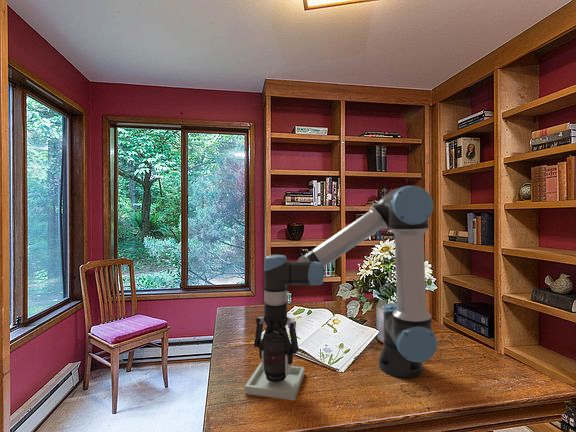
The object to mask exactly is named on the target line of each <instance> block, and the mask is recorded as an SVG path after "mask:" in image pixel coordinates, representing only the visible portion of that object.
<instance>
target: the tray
mask: <svg viewBox="0 0 576 432" xmlns="http://www.w3.org/2000/svg"><path fill="white" fill-rule="evenodd" d="M304 377H305V367H304V366H294V365H291V372H290V373H289V374H288V375H286V378H285V379H284V380H283V381H281V382H270V381H268V380H267V379H266V375H265V370H262V362H260V363H259V364H258V366H257V367H256V368H255V370H254V372H253V373H252V375H251V376H250V378H249V379H248V381H247V382H246V384H245V385H244V394H245V395H251V396H258V397H268V398H272V399H273V398H274V399H280V400H289V401H295V400H296V397H297V395H298V393H299V390H300V388H301V384H302V381H303V378H304Z"/></svg>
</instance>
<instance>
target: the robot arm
mask: <svg viewBox="0 0 576 432" xmlns="http://www.w3.org/2000/svg"><path fill="white" fill-rule="evenodd" d="M369 208H370V209H369V211H367V212H366V213H365V214H363V215H362V216H360V217H358V218H357V219H355V220H354V221H353V222H351V223H350V224H348V225H347V226H345V227H344V228H342V229H341V230H339V231H338V232H336V233H335V234H333V235H332V236H330V237H329V238H328V239H326V240H325V241H323V242H322V243H320V244H318V245H317V246H316V247H314V248H313V249H311V250H310V251H308V252H307V253H306V254H302V255H301V256H299V258H298V259H297V260H296V261H290V260H288V259H287V258H288V257H287V256H286V255H283V254H270V255H267V256H266V257H264V263H263V265H264V266H263V267H264V268H263V283H264V285H263V288H264V289H263V292H264V293H263V294H264V295H263V296H264V297H263V301H264V306H263V307H264V308H263V309H264V311H263V312H264V313H263V314H264V316H262V315H261V316H258V317H257V318H256V319H255V321H256V322H255V323H256V328H255V334H254V335H255V336H254V340H253V341H254V343H253V346H254V347H255V348H257V349H259V359H261V363H262V370H264V358H263V354H264V334H265V332H266V333H269V332H270V331H276V332H279V335H281V336H284V335H286V334H287V333H288V332H289V333H288V335H287V337H288V338H287V339H286V338H285V349H286V351H287V354H286V355H285V375H288V374H289V373H290V372H291V366H292V364H293V362H294V355H296V354H297V353H298V352H299V351H300V350H299V343H298V338H297V337H298V336H297V331H296V328H297V327H296V326H297V321H295V320H293V321H291V320H289V319H288V285H289V286H312V287H313V286H321V285H323V284H324V268H325V267H326V266H328V265H329V264H331V263H333V262H334V261H335V260H338V258H339V257H341V256H342V255H344V254H345V253H347V252H348V251H350V250H352V249H353V248H355V247H356V246H358V245H359V244H361V243H362V242H364V241H365V240H367V239H368V238H370V237H371V236H373V235H374V234H375V233H377V232H379V231H380V230H382V229H385V230H386V229H388V228H389V230H390V231H391V232H392V233H393V234H394V251H395V252H394V253H395V255H394V256H395V277H396V278H395V279H396V280H395V282H396V302H392V303H391V302H389V303H387V304H385V305H384V307H383V345H382V349H381V351H380V355H379V356H378V357H379V358H378V366H379V368H380V370H381V371H383V372H385V373H386V374H388V375H390V376H394V377H397V378H403V379H410V378H411V379H414V378H418V377H420V376H422V375H423V373H424V364H423V362H426V361H428V360H430V358H431V357H434V355H435V354H436V353H437V352H436V351H437V350H438V339H437V337H436V334H435V333H434V332H433V325H432V324H433V323H432V322H433V320H432V314H431V313H430V312H429V311H428V310H427V303H426V302H427V300H426V269H425V267H426V265H425V264H426V263H425V239H424V238H425V237H424V235H425V233H426V232H428V230H429V218H430V217H431V215H432V213H433V210H434V202H433V198H432V197H431V195H430V193H429V192H427V190H426V189H424V188H423V187H420V186H416V185H406V186H405V185H404V186H401V187H397V188H394V189H392V190H390V191H389V192H387V193H386V194H385V195H384V196H383V197H382V198H380V199H379V200H378V201H377V202H376V203H374V204H373V205H371V206H370V207H369ZM265 302H266V303H265ZM264 323H265V325H266V327H265V330H264V334H263V329H264ZM286 326H287V327H288V329H289V330H288V329H287V327H286Z"/></svg>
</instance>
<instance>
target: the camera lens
mask: <svg viewBox="0 0 576 432" xmlns="http://www.w3.org/2000/svg"><path fill="white" fill-rule="evenodd" d="M264 333H265V334H263V336H264V354H263V358H264V370H265V375H266V379H267V380H268V381H270V382H281V381H283V380H284V379H285V378H286V375H285V355H286V354H287V351H286V349H285V338H286V339H287V338H288V337H289V333H288V332H287V334H286V335H284V336H281V335H279V332H276V331H270V332H269V333H266V332H265V331H264ZM287 335H288V337H287Z"/></svg>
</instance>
